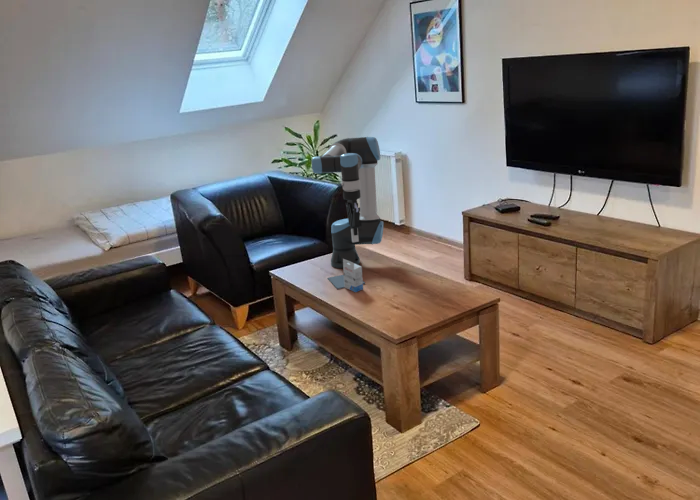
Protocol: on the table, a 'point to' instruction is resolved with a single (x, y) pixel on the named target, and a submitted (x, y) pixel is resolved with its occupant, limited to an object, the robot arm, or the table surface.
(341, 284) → the mat
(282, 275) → the table surface
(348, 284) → the ink box
